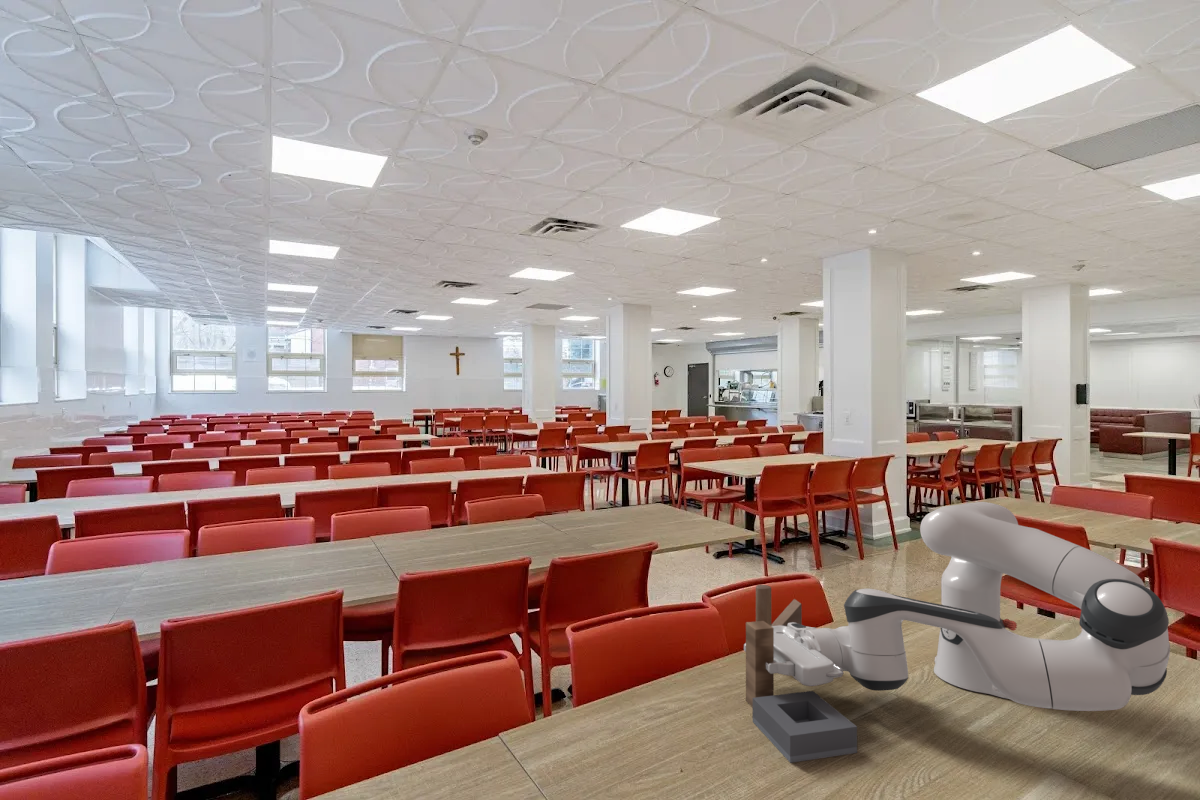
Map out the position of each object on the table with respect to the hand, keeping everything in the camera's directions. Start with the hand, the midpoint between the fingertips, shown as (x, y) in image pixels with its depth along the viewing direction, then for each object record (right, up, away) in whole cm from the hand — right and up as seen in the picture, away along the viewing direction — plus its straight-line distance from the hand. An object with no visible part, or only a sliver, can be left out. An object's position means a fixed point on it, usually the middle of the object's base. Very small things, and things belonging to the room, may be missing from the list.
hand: (755, 657), depth 114 cm
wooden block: (+11, -10, +20) cm, 25 cm away
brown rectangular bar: (+1, -10, 0) cm, 10 cm away
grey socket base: (+5, -9, -11) cm, 16 cm away
